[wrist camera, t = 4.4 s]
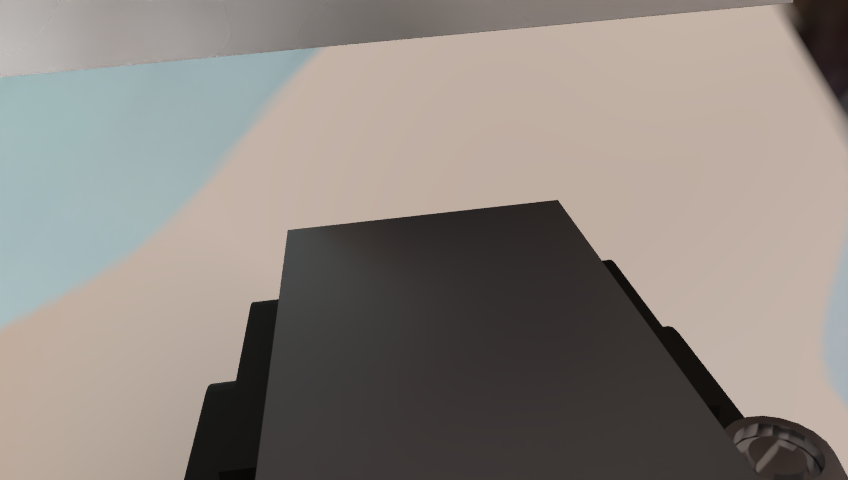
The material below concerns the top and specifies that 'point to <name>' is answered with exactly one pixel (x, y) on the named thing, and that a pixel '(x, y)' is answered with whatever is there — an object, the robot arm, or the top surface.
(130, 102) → the top surface
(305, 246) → the block
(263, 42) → the socket plate
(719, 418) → the robot arm
